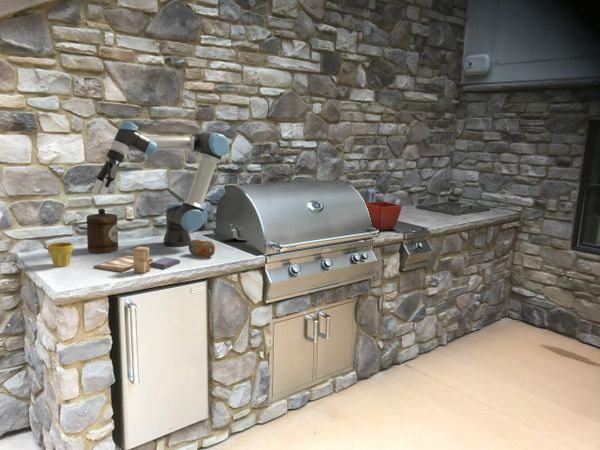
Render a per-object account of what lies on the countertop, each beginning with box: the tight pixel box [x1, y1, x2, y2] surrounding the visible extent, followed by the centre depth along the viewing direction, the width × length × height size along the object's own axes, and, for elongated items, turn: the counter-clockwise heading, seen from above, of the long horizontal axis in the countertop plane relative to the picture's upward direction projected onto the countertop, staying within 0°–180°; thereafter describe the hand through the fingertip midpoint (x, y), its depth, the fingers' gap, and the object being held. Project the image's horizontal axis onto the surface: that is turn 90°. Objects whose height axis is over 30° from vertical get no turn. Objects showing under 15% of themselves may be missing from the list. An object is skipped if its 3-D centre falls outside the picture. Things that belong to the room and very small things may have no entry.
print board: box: [93, 254, 154, 274], centre depth 232 cm, size 22×16×1 cm
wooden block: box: [132, 246, 151, 275], centre depth 220 cm, size 5×5×11 cm
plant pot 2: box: [364, 201, 403, 231], centre depth 336 cm, size 19×19×17 cm
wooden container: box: [86, 208, 119, 255], centre depth 254 cm, size 15×15×22 cm
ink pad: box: [149, 256, 181, 270], centre depth 233 cm, size 12×9×2 cm
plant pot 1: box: [47, 241, 74, 268], centre depth 227 cm, size 10×10×10 cm
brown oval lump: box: [188, 239, 216, 259], centre depth 251 cm, size 15×3×8 cm, turn 64°
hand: (98, 193), depth 227 cm, fingers open, 13 cm apart
